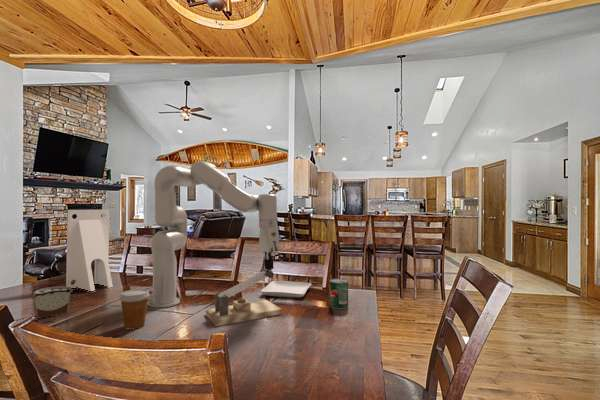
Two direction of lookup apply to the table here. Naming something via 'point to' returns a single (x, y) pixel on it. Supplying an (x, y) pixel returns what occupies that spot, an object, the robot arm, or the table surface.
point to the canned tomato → (339, 293)
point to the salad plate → (286, 289)
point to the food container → (52, 300)
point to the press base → (244, 316)
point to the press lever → (247, 283)
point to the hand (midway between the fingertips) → (269, 268)
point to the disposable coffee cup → (134, 307)
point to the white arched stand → (88, 249)
